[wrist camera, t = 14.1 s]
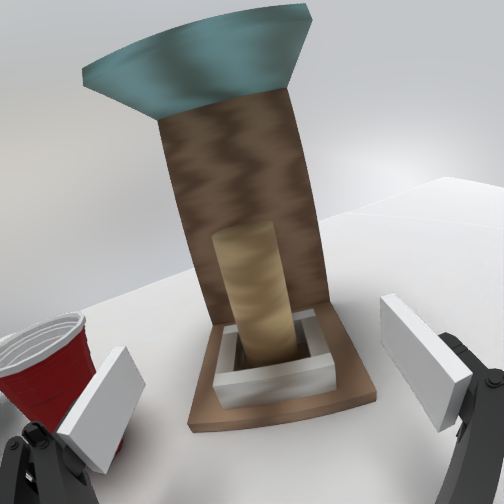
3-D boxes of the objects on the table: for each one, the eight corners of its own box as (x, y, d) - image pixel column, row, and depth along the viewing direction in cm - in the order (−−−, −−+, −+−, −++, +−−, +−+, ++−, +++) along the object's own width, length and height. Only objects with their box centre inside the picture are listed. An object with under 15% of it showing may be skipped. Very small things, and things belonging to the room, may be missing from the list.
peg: (251, 388, 22) (207, 243, 19) (251, 357, 27) (215, 230, 23) (304, 378, 22) (275, 228, 18) (297, 348, 26) (270, 217, 23)
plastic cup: (130, 393, 25) (81, 294, 22) (165, 458, 17) (86, 336, 13) (52, 426, 20) (-7, 331, 17) (61, 498, 11) (-39, 388, 8)
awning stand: (192, 432, 19) (74, 64, 12) (216, 327, 37) (159, 111, 29) (375, 400, 18) (307, -5, 11) (328, 304, 36) (282, 80, 28)
